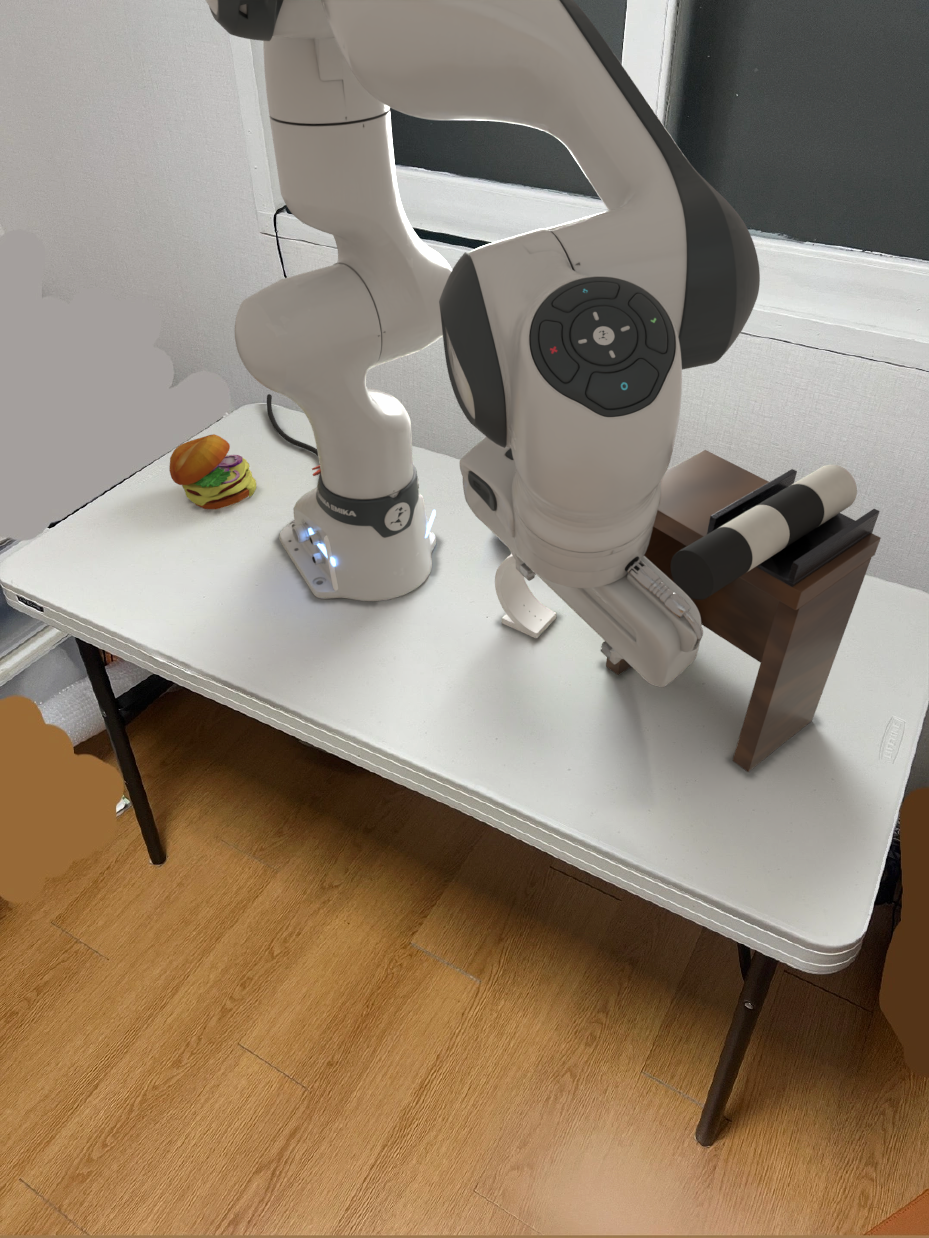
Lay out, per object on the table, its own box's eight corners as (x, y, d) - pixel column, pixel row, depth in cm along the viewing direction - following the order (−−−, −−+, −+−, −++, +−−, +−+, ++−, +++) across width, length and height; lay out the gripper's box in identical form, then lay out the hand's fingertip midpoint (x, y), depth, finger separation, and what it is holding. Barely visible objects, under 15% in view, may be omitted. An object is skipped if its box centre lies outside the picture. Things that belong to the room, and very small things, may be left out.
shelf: (602, 668, 102) (624, 491, 86) (672, 623, 108) (705, 449, 92) (745, 774, 90) (801, 592, 74) (815, 718, 96) (881, 537, 80)
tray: (705, 537, 80) (710, 515, 79) (786, 489, 86) (792, 468, 84) (792, 587, 75) (798, 565, 73) (872, 533, 80) (880, 511, 79)
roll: (708, 609, 72) (717, 566, 69) (667, 583, 75) (673, 541, 72) (850, 517, 82) (863, 476, 79) (808, 497, 84) (819, 456, 81)
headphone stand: (536, 638, 106) (540, 558, 98) (494, 619, 108) (494, 540, 101) (556, 617, 109) (562, 538, 101) (514, 599, 111) (517, 520, 103)
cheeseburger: (252, 513, 126) (222, 454, 119) (184, 528, 128) (150, 471, 121) (265, 473, 133) (237, 416, 127) (200, 488, 135) (169, 432, 129)
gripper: (743, 594, 53) (700, 679, 65) (513, 394, 60) (514, 504, 73) (668, 659, 51) (639, 733, 64) (441, 446, 59) (455, 549, 71)
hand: (571, 610), depth 68 cm, fingers open, 8 cm apart
